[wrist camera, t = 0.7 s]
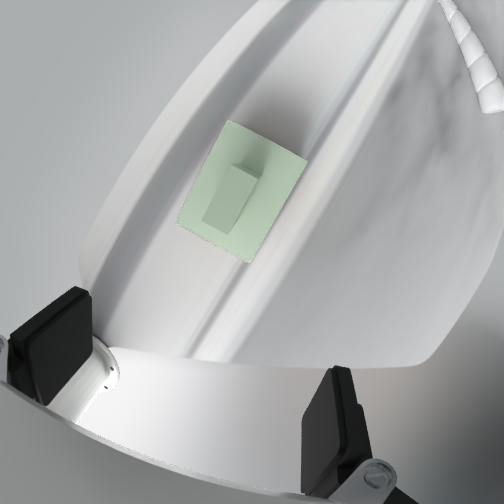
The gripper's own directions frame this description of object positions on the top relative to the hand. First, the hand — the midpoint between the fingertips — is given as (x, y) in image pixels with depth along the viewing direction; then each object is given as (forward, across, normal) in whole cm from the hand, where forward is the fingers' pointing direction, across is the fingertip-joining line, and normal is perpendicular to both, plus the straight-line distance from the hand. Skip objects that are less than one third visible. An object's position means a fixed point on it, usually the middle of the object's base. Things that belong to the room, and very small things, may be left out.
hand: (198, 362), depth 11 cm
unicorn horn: (+30, -20, -32) cm, 48 cm away
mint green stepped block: (+23, +3, -3) cm, 23 cm away
